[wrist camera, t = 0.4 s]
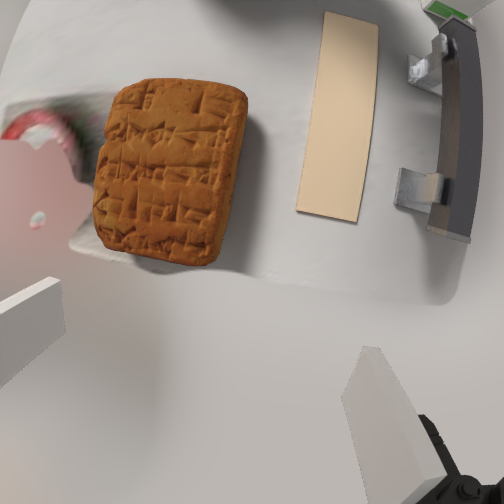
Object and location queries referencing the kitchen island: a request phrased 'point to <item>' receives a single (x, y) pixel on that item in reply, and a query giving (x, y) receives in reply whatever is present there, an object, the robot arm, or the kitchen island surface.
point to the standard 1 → (418, 190)
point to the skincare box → (454, 7)
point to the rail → (459, 132)
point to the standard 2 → (428, 67)
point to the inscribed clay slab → (169, 169)
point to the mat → (340, 119)
